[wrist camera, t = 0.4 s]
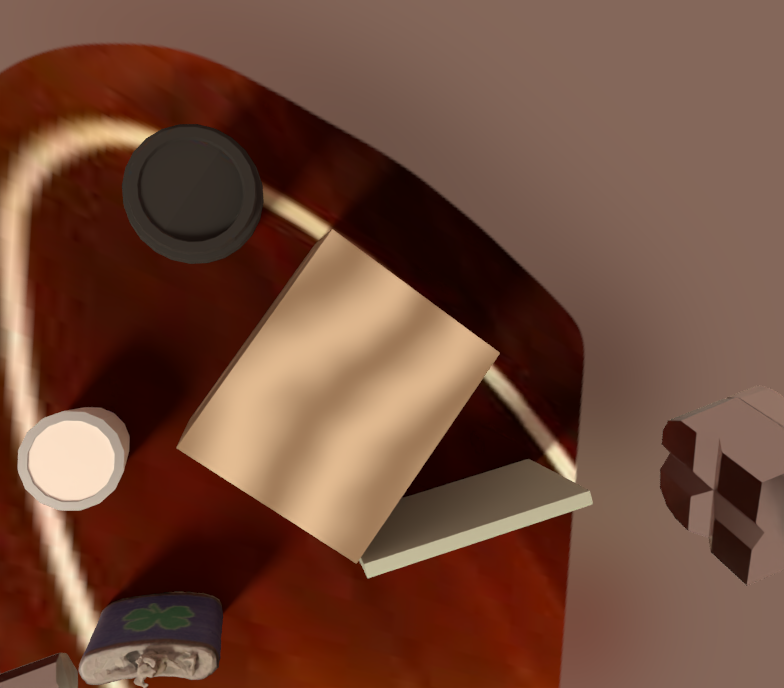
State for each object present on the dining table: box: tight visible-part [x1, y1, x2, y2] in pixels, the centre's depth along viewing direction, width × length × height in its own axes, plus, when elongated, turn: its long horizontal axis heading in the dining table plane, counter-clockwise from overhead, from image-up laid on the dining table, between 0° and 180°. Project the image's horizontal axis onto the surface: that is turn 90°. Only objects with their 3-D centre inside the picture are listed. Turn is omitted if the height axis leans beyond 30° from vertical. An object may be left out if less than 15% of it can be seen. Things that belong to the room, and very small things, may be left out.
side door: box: [359, 459, 593, 578], centre depth 57 cm, size 2×17×12 cm, turn 105°
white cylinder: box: [18, 407, 130, 510], centre depth 54 cm, size 7×7×7 cm
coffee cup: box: [122, 124, 263, 264], centre depth 51 cm, size 8×8×15 cm
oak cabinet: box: [176, 229, 500, 564], centre depth 55 cm, size 14×17×12 cm
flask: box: [79, 591, 223, 688], centre depth 54 cm, size 9×3×11 cm, turn 89°
